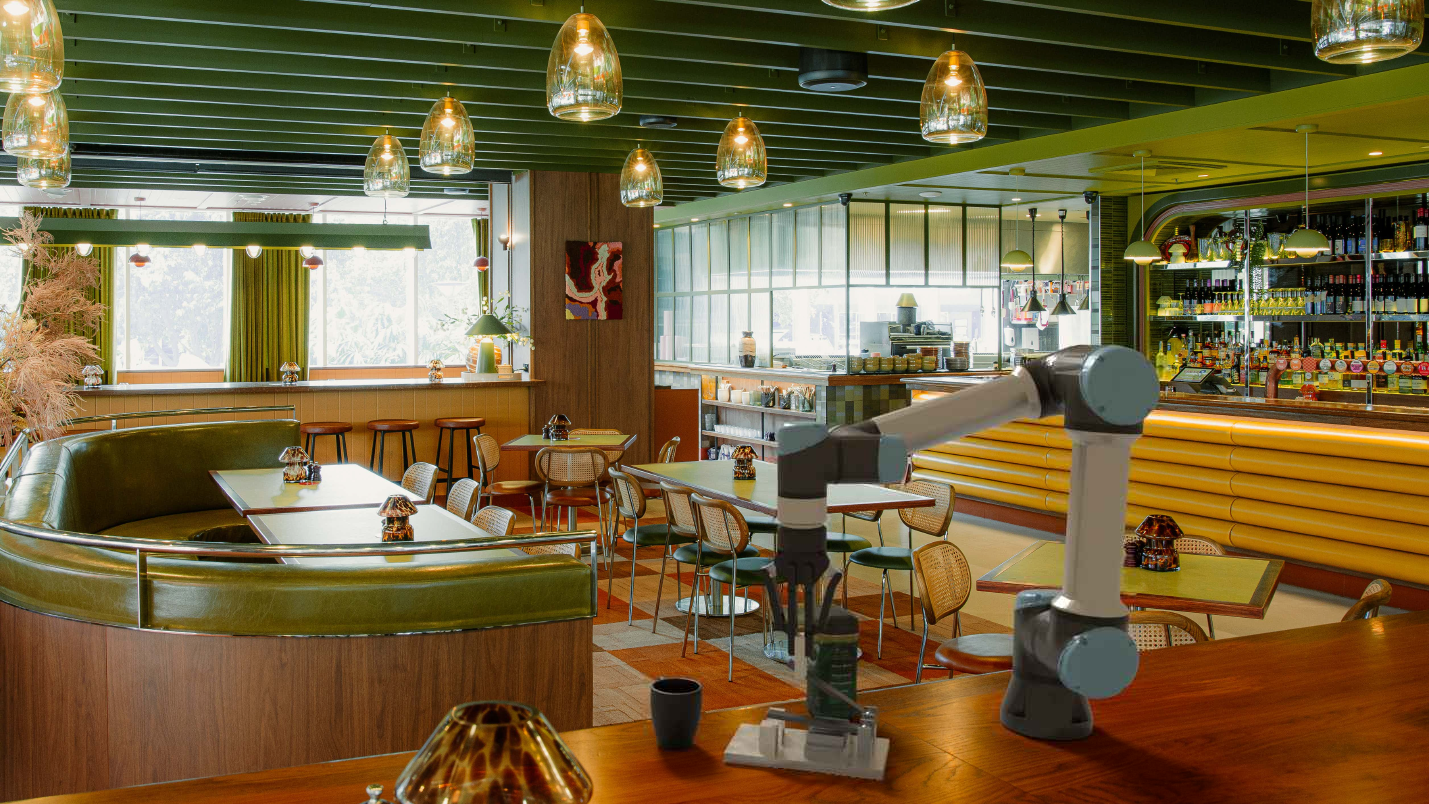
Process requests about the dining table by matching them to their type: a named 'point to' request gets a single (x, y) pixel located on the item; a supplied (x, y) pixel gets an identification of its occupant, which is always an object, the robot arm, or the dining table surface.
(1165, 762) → the dining table surface
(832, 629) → the coffee jar
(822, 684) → the inner strap
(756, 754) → the board
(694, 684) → the mug
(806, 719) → the outer strap
